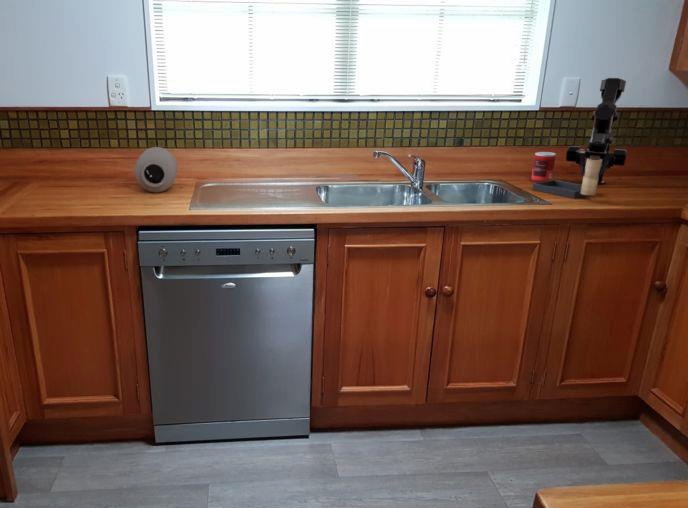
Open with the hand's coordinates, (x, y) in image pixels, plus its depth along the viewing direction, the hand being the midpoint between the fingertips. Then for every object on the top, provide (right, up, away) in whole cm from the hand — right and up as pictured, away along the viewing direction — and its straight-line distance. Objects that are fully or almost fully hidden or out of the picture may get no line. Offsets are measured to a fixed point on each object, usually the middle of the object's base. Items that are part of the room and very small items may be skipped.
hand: (591, 175), depth 209 cm
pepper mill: (+1, -6, +4) cm, 7 cm away
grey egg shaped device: (-151, -3, +15) cm, 152 cm away
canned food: (-2, +5, +36) cm, 37 cm away
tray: (-2, -2, +18) cm, 18 cm away
